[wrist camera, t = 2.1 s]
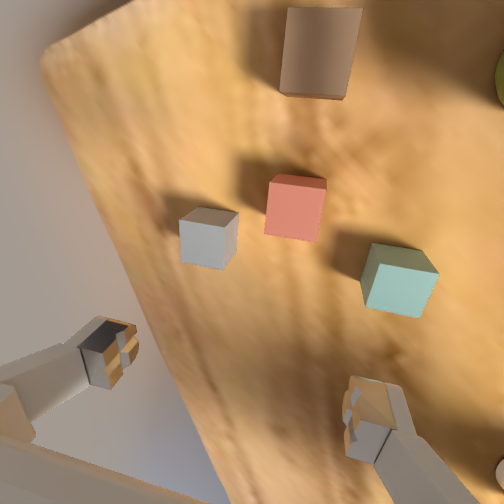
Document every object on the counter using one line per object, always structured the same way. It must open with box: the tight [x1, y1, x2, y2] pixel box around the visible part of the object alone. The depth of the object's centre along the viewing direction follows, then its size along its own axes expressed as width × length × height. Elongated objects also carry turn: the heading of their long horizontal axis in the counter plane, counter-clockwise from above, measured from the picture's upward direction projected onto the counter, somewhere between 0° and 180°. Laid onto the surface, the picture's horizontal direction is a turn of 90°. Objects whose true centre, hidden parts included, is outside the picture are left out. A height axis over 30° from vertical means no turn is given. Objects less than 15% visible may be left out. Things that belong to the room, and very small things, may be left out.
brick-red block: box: [264, 173, 327, 243], centre depth 27 cm, size 5×5×5 cm
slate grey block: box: [179, 207, 239, 270], centre depth 31 cm, size 5×5×5 cm
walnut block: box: [279, 7, 363, 100], centre depth 21 cm, size 5×5×5 cm
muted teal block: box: [360, 243, 440, 318], centre depth 28 cm, size 5×5×5 cm
